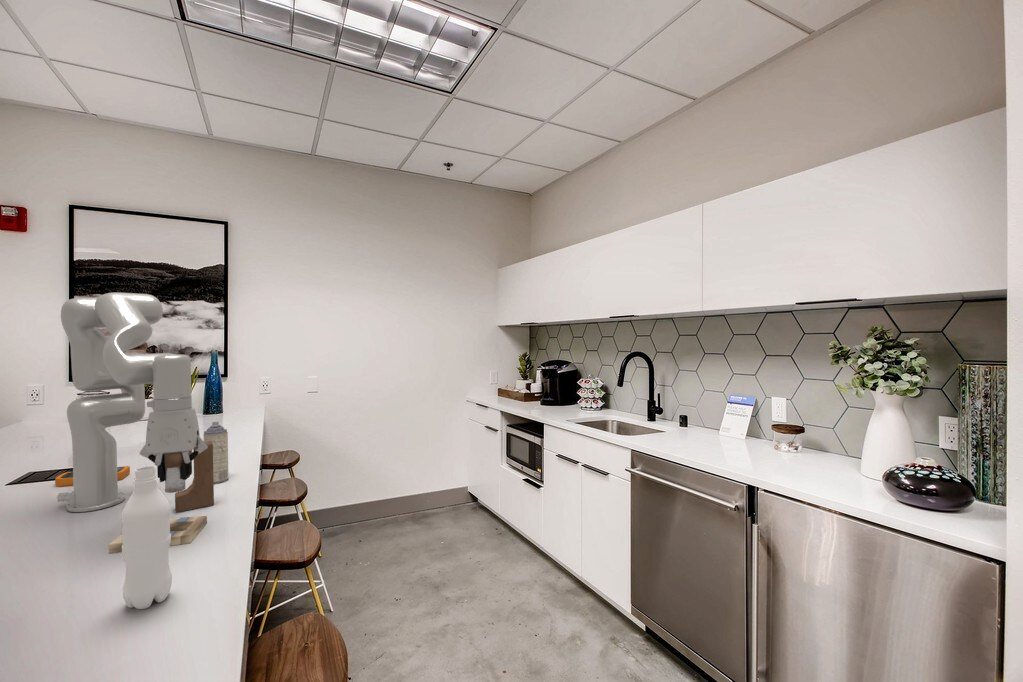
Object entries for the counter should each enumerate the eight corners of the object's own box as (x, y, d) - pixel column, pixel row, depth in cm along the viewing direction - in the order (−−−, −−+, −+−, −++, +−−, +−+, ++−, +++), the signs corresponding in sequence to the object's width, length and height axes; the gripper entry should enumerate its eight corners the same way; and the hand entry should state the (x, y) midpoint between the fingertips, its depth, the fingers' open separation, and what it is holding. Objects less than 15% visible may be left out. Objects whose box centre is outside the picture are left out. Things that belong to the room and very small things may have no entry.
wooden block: (175, 513, 128) (174, 448, 127) (175, 508, 131) (173, 445, 131) (214, 505, 133) (213, 443, 133) (212, 500, 137) (211, 440, 136)
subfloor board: (108, 553, 105) (108, 543, 105) (133, 531, 116) (133, 522, 116) (190, 543, 110) (190, 534, 110) (207, 523, 121) (206, 514, 121)
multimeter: (64, 481, 156) (64, 471, 156) (131, 474, 164) (130, 464, 164) (52, 489, 149) (52, 478, 148) (122, 481, 156) (122, 471, 156)
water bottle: (141, 591, 89) (138, 463, 89) (180, 589, 90) (178, 462, 89) (112, 614, 82) (109, 475, 82) (155, 612, 83) (152, 474, 82)
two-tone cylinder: (162, 493, 111) (160, 443, 111) (169, 488, 115) (167, 440, 114) (181, 491, 112) (180, 442, 112) (187, 486, 116) (186, 438, 116)
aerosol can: (232, 477, 159) (230, 419, 158) (222, 483, 152) (221, 423, 152) (210, 478, 158) (209, 420, 157) (200, 485, 151) (199, 424, 151)
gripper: (124, 409, 107) (126, 488, 107) (207, 405, 112) (209, 480, 112) (139, 404, 114) (141, 478, 114) (216, 400, 119) (218, 471, 120)
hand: (175, 478), depth 113 cm, fingers closed on two-tone cylinder, 4 cm apart
